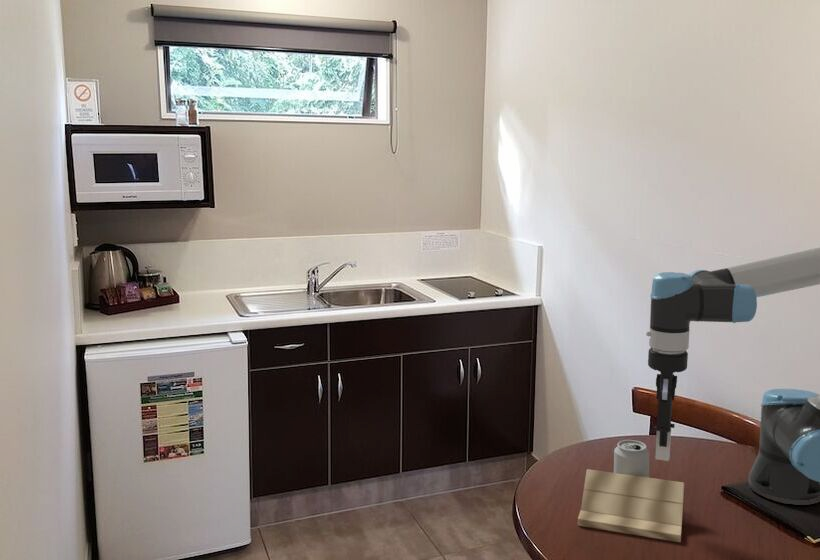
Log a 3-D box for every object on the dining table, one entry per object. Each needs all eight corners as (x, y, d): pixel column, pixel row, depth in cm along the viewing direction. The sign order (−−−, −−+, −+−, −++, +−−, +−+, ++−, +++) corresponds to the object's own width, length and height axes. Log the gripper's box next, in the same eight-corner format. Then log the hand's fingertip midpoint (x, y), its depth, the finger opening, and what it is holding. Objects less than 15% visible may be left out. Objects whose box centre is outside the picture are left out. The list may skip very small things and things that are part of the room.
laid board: (681, 532, 147) (681, 525, 146) (680, 542, 143) (680, 535, 143) (580, 516, 154) (580, 509, 154) (577, 525, 151) (577, 518, 150)
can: (650, 504, 159) (651, 452, 156) (614, 501, 160) (615, 450, 158) (646, 488, 166) (647, 438, 164) (612, 486, 167) (613, 436, 165)
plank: (683, 485, 153) (684, 482, 152) (681, 528, 147) (681, 525, 146) (587, 472, 161) (586, 469, 160) (581, 512, 155) (580, 509, 154)
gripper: (651, 339, 154) (646, 444, 159) (646, 356, 143) (640, 468, 147) (688, 342, 152) (682, 449, 156) (687, 359, 140) (680, 474, 144)
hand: (662, 458), depth 151 cm, fingers closed
